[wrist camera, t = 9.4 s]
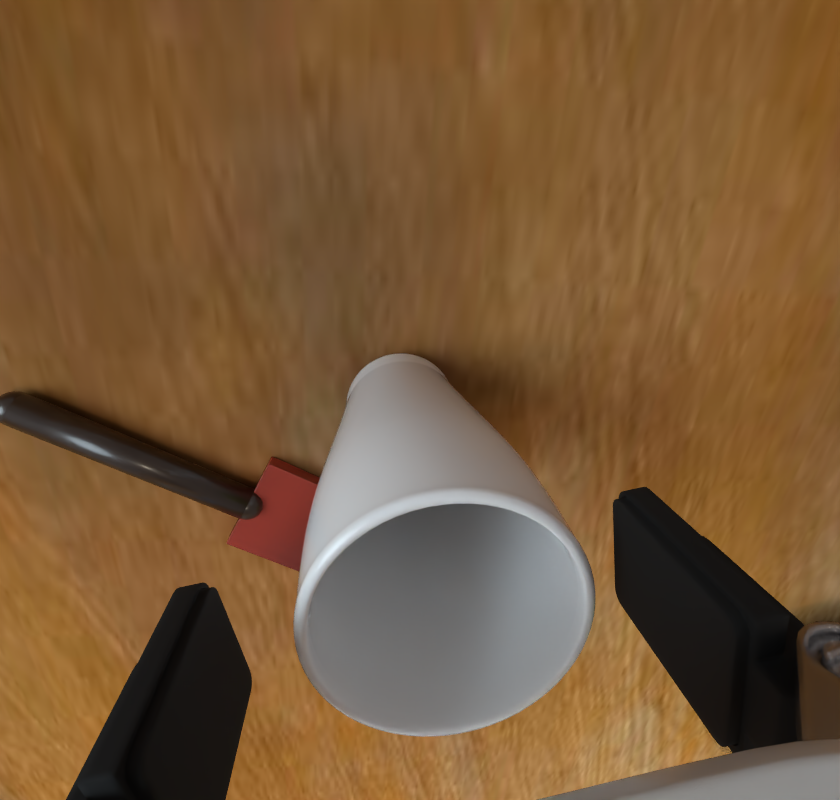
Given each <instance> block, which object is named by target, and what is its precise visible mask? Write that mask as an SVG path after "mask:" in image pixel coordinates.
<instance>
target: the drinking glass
mask: <svg viewBox="0 0 840 800" xmlns="http://www.w3.org/2000/svg"><path fill="white" fill-rule="evenodd" d="M594 610H595V585H594V578H593V574H592V570H591V567H590V564H589V562H588V559H587V556H586V554H585V552H584V551H583V549H582V547H581V545H580V543H579V542H578V540H577V539H576V538H575V536H574V534H573V533H572V531H571V529H570V528H569V526H568V524H567V523H566V521H565V519H564V518H563V516H562V514H561V513H560V511H559V509H558V508H557V506H556V505H555V503H554V501H553V500H552V498H551V497H550V495H549V494H548V492H547V491H546V490H545V488H544V487H543V485H542V484H541V482H540V481H539V480H538V478H537V477H536V475H535V474H534V473H533V471H532V470H531V469H530V467H529V466H528V465H527V463H526V462H525V461H524V460H523V458H522V457H521V456H520V455H519V454H518V452H517V451H516V450H515V449H514V448H513V447H512V446H511V445H510V444H509V442H508V441H507V440H506V439H505V438H504V437H503V436H502V435H501V434H500V433H499V432H498V431H497V430H496V429H495V428H494V427H493V426H492V425H491V424H490V423H489V422H488V421H487V420H486V419H485V418H484V417H483V416H482V415H481V414H480V413H479V412H478V411H477V410H476V409H475V408H474V407H473V406H472V405H471V404H470V403H469V402H468V401H467V400H466V399H465V398H464V397H463V396H462V395H461V394H460V393H459V392H458V391H457V390H456V389H455V388H454V387H453V386H452V385H451V384H450V383H449V381H448V379H447V378H446V376H445V375H444V374H443V372H442V371H441V370H440V369H439V368H438V367H437V366H435V365H434V364H433V363H431V362H430V361H428V360H426V359H424V358H422V357H419V356H416V355H412V354H404V353H398V354H390V355H386V356H383V357H380V358H378V359H376V360H374V361H372V362H370V363H369V364H368V365H366V366H365V367H364V368H363V369H362V370H361V371H360V372H359V373H358V374H357V376H356V377H355V379H354V380H353V382H352V384H351V386H350V389H349V392H348V395H347V401H346V407H345V410H344V413H343V416H342V419H341V422H340V424H339V427H338V430H337V432H336V435H335V438H334V440H333V443H332V446H331V448H330V451H329V454H328V456H327V459H326V462H325V464H324V467H323V470H322V473H321V476H320V479H319V482H318V484H317V487H316V491H315V494H314V497H313V501H312V505H311V509H310V513H309V518H308V522H307V527H306V531H305V537H304V542H303V548H302V554H301V561H300V569H299V578H298V588H297V597H296V605H295V611H294V621H293V623H294V640H295V646H296V650H297V654H298V657H299V661H300V663H301V665H302V668H303V670H304V672H305V674H306V675H307V677H308V679H309V681H310V682H311V683H312V685H313V686H314V687H315V689H316V690H317V691H318V692H319V694H320V695H321V696H322V697H323V698H324V699H325V700H326V701H327V702H329V703H330V704H331V705H332V706H333V707H335V708H336V709H337V710H339V711H340V712H342V713H343V714H345V715H346V716H348V717H350V718H352V719H353V720H355V721H357V722H360V723H362V724H364V725H367V726H369V727H372V728H375V729H378V730H381V731H385V732H390V733H394V734H401V735H408V736H446V735H453V734H460V733H464V732H469V731H473V730H477V729H480V728H484V727H487V726H490V725H492V724H495V723H498V722H500V721H502V720H505V719H507V718H509V717H511V716H513V715H515V714H517V713H519V712H520V711H522V710H524V709H525V708H527V707H529V706H530V705H532V704H533V703H534V702H536V701H537V700H539V699H540V698H541V697H543V696H544V695H545V694H546V693H547V692H548V691H550V690H551V689H552V688H553V687H554V686H555V685H556V684H557V683H558V682H559V681H560V680H561V679H562V678H563V677H564V675H565V674H566V673H567V672H568V671H569V669H570V668H571V666H572V665H573V664H574V662H575V661H576V659H577V658H578V656H579V654H580V652H581V651H582V649H583V647H584V645H585V642H586V640H587V638H588V635H589V632H590V629H591V626H592V622H593V617H594Z"/></svg>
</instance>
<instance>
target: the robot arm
mask: <svg viewBox="0 0 840 800" xmlns="http://www.w3.org/2000/svg"><path fill="white" fill-rule="evenodd" d="M613 523H614V561H615V590H616V594H617V597H618V600H619V602H620V604H621V605H622V607H623V608H624V610H625V611H626V613H627V614H628V615H629V617H630V618H631V620H632V621H633V623H634V624H635V626H636V627H637V628H638V630H639V631H640V633H641V634H642V636H643V637H644V639H645V640H646V641H647V643H648V644H649V646H650V647H651V649H652V650H653V651H654V653H655V654H656V656H657V657H658V659H659V660H660V662H661V663H662V664H663V666H664V667H665V669H666V670H667V672H668V673H669V675H670V676H671V677H672V679H673V680H674V682H675V683H676V685H677V686H678V687H679V689H680V690H681V692H682V693H683V695H684V696H685V698H686V699H687V700H688V702H689V703H690V705H691V706H692V708H693V709H694V711H695V712H696V713H697V715H698V716H699V718H700V719H701V721H702V722H703V724H704V725H705V726H706V728H707V729H708V731H709V732H710V734H711V735H712V736H713V738H714V739H715V740H716V742H717V743H718V744H719V745H720V746H722V747H726V746H728V747H729V748H730V749H731V751H732V752H733V753H732V754H727V755H723V756H718V757H714V758H709V759H705V760H700V761H696V762H691V763H687V764H682V765H678V766H674V767H669V768H665V769H661V770H657V771H653V772H649V773H645V774H641V775H637V776H633V777H628V778H624V779H620V780H616V781H612V782H608V783H604V784H600V785H596V786H592V787H587V788H583V789H579V790H575V791H571V792H567V793H563V794H559V795H555V796H551V797H546V798H542V799H538V800H840V623H838V622H832V621H821V622H813V623H810V624H807V625H804V624H803V623H802V622H800V621H799V620H798V619H797V618H796V617H795V616H794V615H793V614H791V613H790V612H789V611H788V610H787V609H786V608H785V607H784V606H782V605H781V604H780V603H779V602H778V601H777V600H776V599H775V598H774V597H772V596H771V595H770V594H769V593H768V592H767V591H766V590H765V589H763V588H762V587H761V586H760V585H759V584H758V583H757V582H756V581H754V580H753V579H752V578H751V577H750V576H749V575H748V574H747V573H746V572H744V571H743V570H742V569H741V568H740V567H739V566H738V565H737V564H735V563H734V562H733V561H732V560H731V559H730V558H729V557H728V556H726V555H725V554H724V553H723V552H722V551H721V550H720V549H719V548H717V547H716V546H715V545H714V544H713V543H712V542H711V541H710V540H708V539H707V538H705V537H704V536H701V535H700V534H699V533H698V532H696V531H695V530H694V529H693V528H692V527H691V526H690V525H689V524H688V523H686V522H685V521H684V520H683V519H682V518H681V517H680V516H679V515H678V514H676V513H675V512H674V511H673V510H672V509H671V508H670V507H669V506H668V505H666V504H665V503H664V502H663V501H662V500H661V499H660V498H659V497H658V496H656V495H655V494H654V493H653V492H652V491H651V490H650V489H648V488H647V487H641V488H636V489H632V490H627V491H623V492H621V493H620V495H619V499H616V500H614V502H613ZM251 687H252V678H251V673H250V670H249V667H248V665H247V662H246V660H245V657H244V655H243V652H242V650H241V647H240V645H239V643H238V640H237V638H236V635H235V633H234V630H233V628H232V625H231V623H230V621H229V618H228V616H227V613H226V611H225V608H224V606H223V603H222V601H221V598H220V596H219V594H218V591H217V590H216V588H215V587H211V588H209V587H208V585H207V584H206V583H199V584H194V585H189V586H185V587H180V588H178V589H176V590H175V592H174V593H173V595H172V597H171V599H170V601H169V603H168V605H167V607H166V609H165V611H164V613H163V615H162V617H161V619H160V621H159V622H158V624H157V626H156V628H155V630H154V632H153V634H152V636H151V638H150V640H149V642H148V644H147V646H146V648H145V650H144V652H143V654H142V656H141V658H140V660H139V662H138V663H137V665H136V666H135V668H134V669H133V671H132V672H131V674H130V676H129V678H128V680H127V682H126V684H125V686H124V688H123V690H122V692H121V694H120V696H119V698H118V700H117V702H116V704H115V705H114V707H113V709H112V711H111V713H110V715H109V717H108V719H107V721H106V723H105V725H104V727H103V729H102V731H101V733H100V735H99V737H98V739H97V741H96V742H95V744H94V746H93V748H92V750H91V752H90V754H89V756H88V758H87V760H86V762H85V764H84V766H83V768H82V770H81V772H80V774H79V776H78V778H77V779H76V781H75V783H74V785H73V787H72V789H71V791H70V793H69V795H68V797H67V799H66V800H225V799H226V795H227V790H228V786H229V782H230V778H231V773H232V769H233V765H234V761H235V756H236V752H237V748H238V744H239V739H240V735H241V731H242V727H243V722H244V718H245V714H246V710H247V705H248V701H249V697H250V693H251Z"/></svg>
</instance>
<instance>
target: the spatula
mask: <svg viewBox="0 0 840 800" xmlns="http://www.w3.org/2000/svg"><path fill="white" fill-rule="evenodd" d="M0 423H2V424H4V425H6V426H9V427H11V428H14V429H16V430H19V431H21V432H24V433H26V434H29V435H31V436H34V437H36V438H39V439H41V440H44V441H46V442H49V443H51V444H54V445H56V446H59V447H61V448H64V449H66V450H69V451H71V452H74V453H76V454H79V455H81V456H84V457H86V458H89V459H91V460H94V461H96V462H99V463H101V464H104V465H106V466H109V467H111V468H114V469H116V470H119V471H121V472H124V473H126V474H129V475H131V476H134V477H137V478H139V479H142V480H144V481H147V482H149V483H152V484H154V485H157V486H159V487H162V488H164V489H167V490H169V491H172V492H174V493H177V494H179V495H182V496H184V497H187V498H189V499H192V500H194V501H197V502H199V503H202V504H204V505H207V506H209V507H212V508H214V509H217V510H219V511H222V512H224V513H227V514H229V515H232V516H234V517H237V518H239V519H238V521H237V523H236V525H235V527H234V528H233V530H232V532H231V534H230V536H229V539H228V541H227V544H229V545H232V546H234V547H237V548H239V549H242V550H245V551H247V552H250V553H252V554H255V555H258V556H260V557H263V558H266V559H268V560H271V561H273V562H276V563H279V564H281V565H284V566H286V567H289V568H292V569H294V570H297V571H299V569H300V561H301V554H302V548H303V542H304V537H305V531H306V527H307V522H308V518H309V513H310V509H311V505H312V501H313V497H314V494H315V491H316V487H317V484H318V482H319V479H320V477H318V476H315V475H313V474H311V473H309V472H306V471H304V470H302V469H300V468H297V467H295V466H293V465H290V464H288V463H286V462H284V461H281V460H279V459H277V458H275V457H271V459H270V461H269V463H268V465H267V466H266V468H265V470H264V472H263V474H262V476H261V478H260V480H259V481H258V483H257V485H256V487H255V489H253V488H251V487H248V486H246V485H244V484H241V483H239V482H237V481H234V480H232V479H229V478H227V477H225V476H222V475H220V474H217V473H215V472H213V471H210V470H208V469H206V468H203V467H201V466H198V465H196V464H194V463H191V462H189V461H186V460H184V459H182V458H179V457H177V456H175V455H172V454H170V453H167V452H165V451H163V450H160V449H158V448H155V447H153V446H151V445H148V444H146V443H143V442H141V441H139V440H136V439H134V438H132V437H129V436H127V435H124V434H122V433H120V432H117V431H115V430H112V429H110V428H108V427H105V426H103V425H101V424H98V423H96V422H93V421H91V420H89V419H86V418H84V417H81V416H79V415H77V414H74V413H72V412H70V411H67V410H65V409H62V408H60V407H58V406H55V405H53V404H50V403H48V402H46V401H43V400H41V399H39V398H36V397H34V396H31V395H29V394H26V393H23V392H8V393H5V394H3V395H1V396H0Z"/></svg>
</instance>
